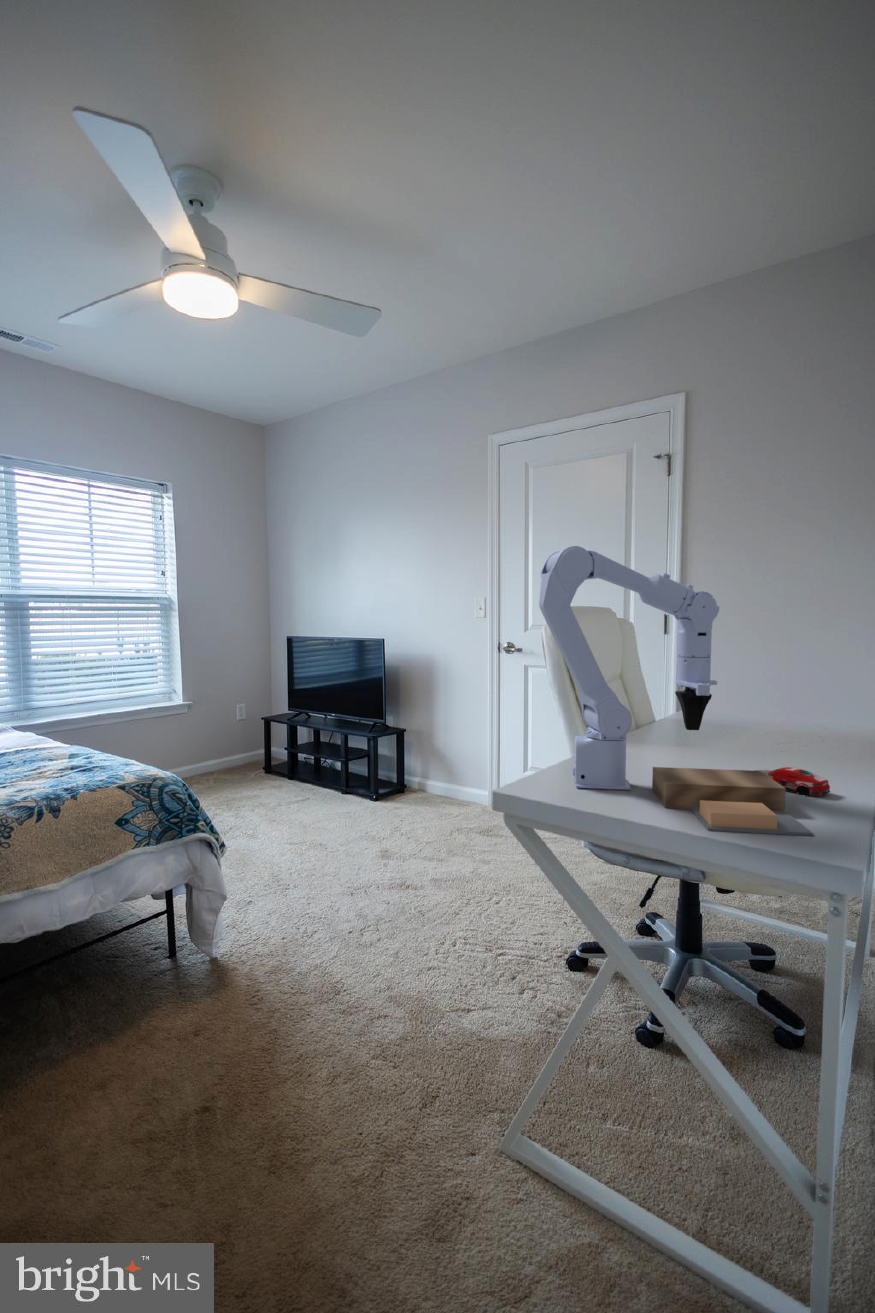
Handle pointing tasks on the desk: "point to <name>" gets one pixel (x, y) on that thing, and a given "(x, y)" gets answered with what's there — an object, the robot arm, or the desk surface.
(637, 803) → the desk surface
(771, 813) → the tan wooden block
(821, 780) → the race car
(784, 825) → the mat
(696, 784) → the brown wooden flat block
